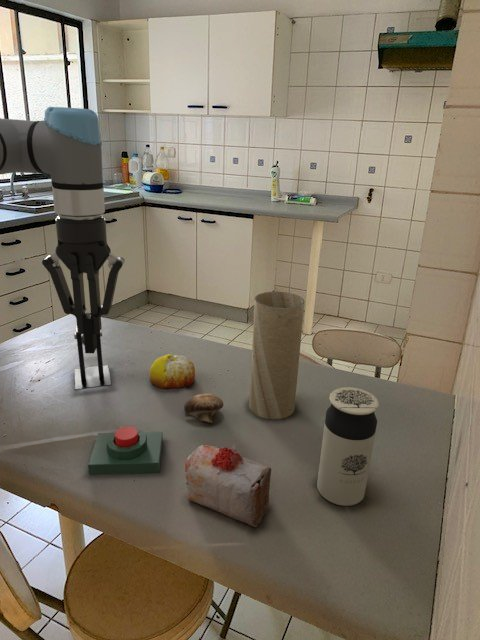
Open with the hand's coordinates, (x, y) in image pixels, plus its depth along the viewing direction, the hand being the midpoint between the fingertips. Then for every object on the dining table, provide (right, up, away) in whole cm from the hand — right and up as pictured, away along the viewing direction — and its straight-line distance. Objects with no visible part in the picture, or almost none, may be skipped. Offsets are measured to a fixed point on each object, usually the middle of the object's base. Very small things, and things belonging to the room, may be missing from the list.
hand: (91, 349), depth 82 cm
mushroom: (+19, -15, +15) cm, 29 cm away
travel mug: (+43, -24, -3) cm, 50 cm away
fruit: (+10, -10, +29) cm, 32 cm away
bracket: (-9, -9, +28) cm, 30 cm away
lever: (-9, -1, +28) cm, 29 cm away
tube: (+33, -14, +20) cm, 41 cm away
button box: (+6, -20, +3) cm, 21 cm away
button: (+6, -17, +2) cm, 18 cm away
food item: (+24, -25, -6) cm, 35 cm away
